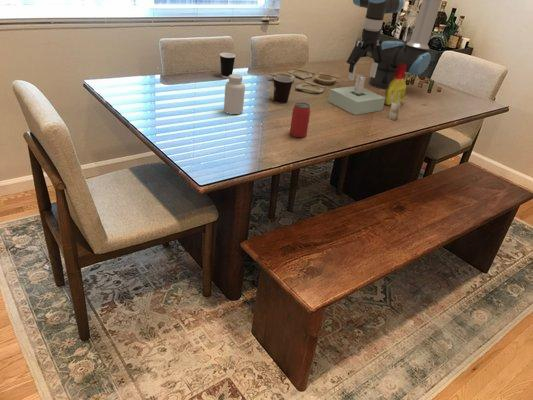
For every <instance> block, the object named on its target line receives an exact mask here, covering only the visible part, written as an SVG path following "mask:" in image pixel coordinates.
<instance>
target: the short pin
mask: <svg viewBox="0 0 533 400" xmlns="http://www.w3.org/2000/svg"><path fill="white" fill-rule="evenodd" d="M401 106H402V103H399V102H392V104H391V105H390V108H389V112H388V116H387V119H389V120H392V121H396V120H397V119H398V116H399V112H400V109H401Z"/></svg>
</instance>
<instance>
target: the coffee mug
mask: <svg viewBox="0 0 533 400" xmlns="http://www.w3.org/2000/svg"><path fill="white" fill-rule="evenodd" d="M293 81H294V79H291V78H289V77H285V76H276V77H274V76H273V101H274V102H275V103H279V104H286V103H288V101H289V97H290V93H291V90H292V85H293Z"/></svg>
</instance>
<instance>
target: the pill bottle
mask: <svg viewBox="0 0 533 400" xmlns="http://www.w3.org/2000/svg"><path fill="white" fill-rule="evenodd" d="M245 89H246V87H245V84H244V82H243V76H242V75H241V74H235V73H232V75H229V78H228V80H227V82H226V83H225V86H224V98H223V99H224V101H223V102H224V103H223V111H224V112H225V111H226V112H228V113H231V114H239V115H241V114H243V110H244V102H245ZM226 112H225V113H226ZM228 113H227V114H228ZM240 113H241V114H240ZM231 114H230V115H231Z"/></svg>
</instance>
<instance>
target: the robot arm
mask: <svg viewBox="0 0 533 400" xmlns="http://www.w3.org/2000/svg"><path fill="white" fill-rule="evenodd" d="M442 1H443V0H422V1H421V4H420V8H419V11H418V14H417V17H416V21H415V23H414V26H413V30H412V33H411V37H410V39H409V41H407V42H406V43H405V42H403V41H399V40H385V41H383V40H381V39H380V34H381V30H382V28H383V21H384V17H385V14H386V15H387V14H395V13H399V12H400V11H401V10H402V9H403V7H404V4H405V3H404V2H405V0H352V3H353V4H354V5H355V6H357V7H360V8H364V9H366V13H365V17H364V23H363V29H362V31H361V32H362V33H361V39H362V40H361V41H359V40H356V41H355V45H354V47H353V49H352V51H351V52H350V55H349V56H348V58H347V60H346V63H347V64H349V68H348V77H347V79H348V80H350V81H354V79H355V74H356V70H357V63H358V61H360V59H361V58H362V57H363V55H364V54H365V53H369V52H370V54H371V56H372V59H373V61H372V63H371V68H370V73H369V80H368V84H369V85H370V86H372V87H375V88H378V89H381V90H386V88H387V86H388V84H389V83H390V82H391V81H392V79H393V77H394V74H395V71H396V68H397V66H398V64H399V63H405V64H406V70H405V73H407V74H410V75H415V76H419V75H421V74H422V73H424V72H425V70H427V68H428V67H429V65H430V62H431V57H432V55H431V53H430V52H429V51H430V46H429V45H428V44H429V41H430V38H431V34H432V32H433V28H434V26H435V23H436V19H437V17H438V13H439V10H440V7H441V4H442Z"/></svg>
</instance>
